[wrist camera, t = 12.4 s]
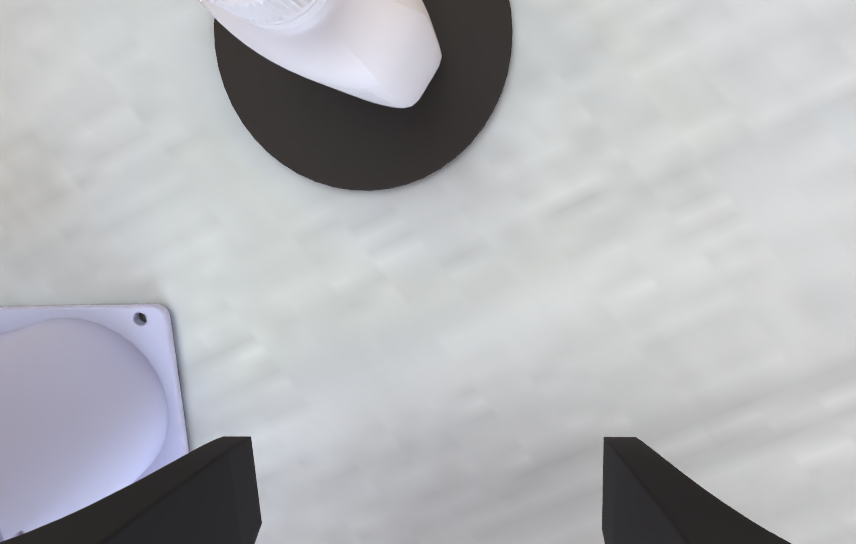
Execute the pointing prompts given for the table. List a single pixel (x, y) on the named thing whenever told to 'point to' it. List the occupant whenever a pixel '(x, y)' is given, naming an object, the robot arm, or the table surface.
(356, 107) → the coaster
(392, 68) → the eye dropper bottle
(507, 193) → the table surface
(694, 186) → the table surface
